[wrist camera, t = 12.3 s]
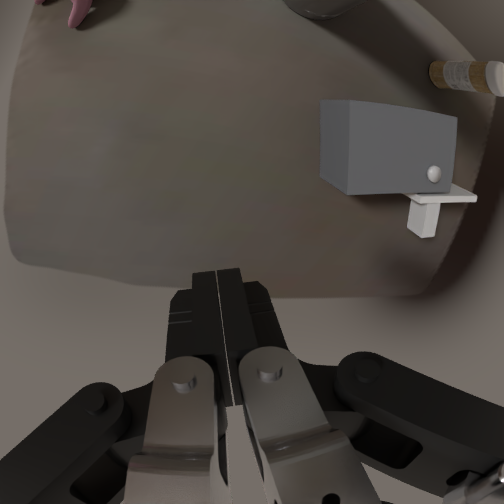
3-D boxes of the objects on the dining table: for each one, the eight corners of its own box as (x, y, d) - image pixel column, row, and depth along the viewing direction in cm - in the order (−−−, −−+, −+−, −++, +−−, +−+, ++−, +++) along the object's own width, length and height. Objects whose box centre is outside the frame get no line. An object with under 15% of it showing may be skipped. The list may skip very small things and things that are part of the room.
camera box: (319, 99, 32) (352, 100, 24) (424, 111, 34) (466, 119, 26) (319, 177, 37) (349, 198, 29) (420, 176, 39) (458, 194, 31)
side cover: (386, 178, 38) (420, 196, 31) (443, 179, 39) (477, 195, 32) (382, 217, 41) (413, 240, 34) (438, 213, 42) (469, 233, 35)
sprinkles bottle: (450, 72, 31) (516, 78, 19) (442, 94, 33) (510, 104, 21) (431, 54, 30) (499, 54, 18) (423, 77, 31) (493, 81, 20)
